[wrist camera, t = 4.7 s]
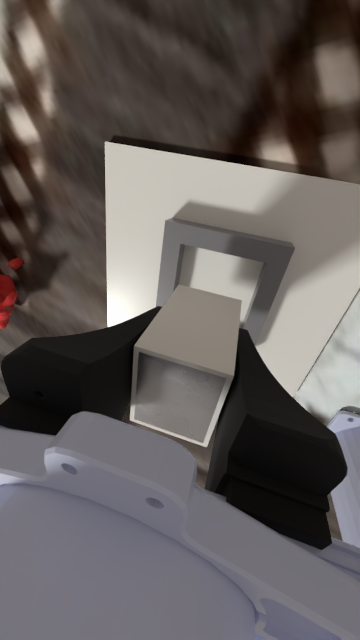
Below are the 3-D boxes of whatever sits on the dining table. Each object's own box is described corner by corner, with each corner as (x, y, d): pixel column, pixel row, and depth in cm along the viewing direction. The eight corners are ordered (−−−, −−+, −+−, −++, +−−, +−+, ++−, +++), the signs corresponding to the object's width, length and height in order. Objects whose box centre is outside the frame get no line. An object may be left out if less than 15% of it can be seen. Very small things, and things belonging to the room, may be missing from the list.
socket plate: (411, 193, 13) (435, 194, 11) (292, 392, 21) (296, 410, 19) (108, 142, 15) (91, 137, 14) (110, 337, 24) (99, 349, 22)
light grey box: (241, 300, 13) (234, 375, 8) (222, 359, 15) (206, 447, 10) (178, 284, 13) (133, 345, 8) (169, 344, 16) (129, 420, 11)
